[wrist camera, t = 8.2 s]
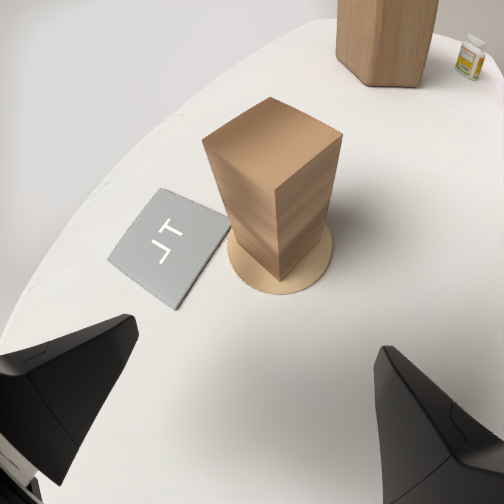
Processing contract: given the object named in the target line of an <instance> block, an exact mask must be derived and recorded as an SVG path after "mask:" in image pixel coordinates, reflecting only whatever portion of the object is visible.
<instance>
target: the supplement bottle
mask: <svg viewBox="0 0 504 504" xmlns="http://www.w3.org/2000/svg"><path fill="white" fill-rule="evenodd" d="M467 40H468V41H463V43H462V46H461V49H460V53H459V56H458V60H457V63H456V69H457V71H458V72H460V73H461V74H462V75H464V76H465V77H467V78H469V79H471V80H474V81H476V80H477V79H478V76H479V73H480V71H481V68H482V65H483V62H484V59H485V53H484V52H483V49H484V48H485V45H486V44H485V43H484V42H483V41H481V40H480V39H478V38H477V37H475V36H473V35H471V34H468V36H467Z"/></svg>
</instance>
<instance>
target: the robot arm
mask: <svg viewBox="0 0 504 504" xmlns="http://www.w3.org/2000/svg"><path fill="white" fill-rule="evenodd" d="M138 337H139V332H138V328H137V324H136V319H135V317H134V316H133V315H129V314H122V315H120V316H117V317H114V318H111V319H109V320H106V321H103V322H101V323H98V324H95V325H92V326H90V327H87V328H84V329H81V330H79V331H76V332H73V333H70V334H68V335H65V336H62V337H59V338H57V339H54V340H52V341H48V342H45V343H43V344H40V345H37V346H34V347H30V348H27V349H23V350H19V351H16V352H12V353H8V354H4V355H0V504H43V502H42V498H41V493H40V489H39V484H38V479H37V478H35V477H34V476H35V474H36V473H37V472H38V470H39V471H40V472H41V473H43V474H44V475H45V476H46V477H48V478H49V479H50V480H51V481H53V482H54V483H55V484H57V485H58V486H61V484H62V482H63V480H64V478H65V476H66V474H67V472H68V470H69V468H70V466H71V464H72V462H73V460H74V458H75V456H76V454H77V452H78V450H79V447H80V446H81V444H82V442H83V440H84V439H85V437H86V435H87V433H88V431H89V429H90V427H91V426H92V424H93V422H94V420H95V418H96V416H97V415H98V413H99V411H100V409H101V407H102V406H103V404H104V402H105V400H106V399H107V397H108V395H109V393H110V392H111V390H112V388H113V386H114V385H115V383H116V381H117V380H118V378H119V376H120V375H121V373H122V371H123V369H124V367H125V365H126V363H127V361H128V359H129V357H130V355H131V353H132V350H133V348H134V346H135V344H136V342H137V340H138ZM374 384H375V408H376V416H377V424H378V432H379V442H380V452H381V465H382V481H383V504H504V441H503V440H501V439H500V438H498V437H497V436H496V435H494V434H493V433H492V432H491V431H489V430H488V429H487V428H485V427H484V426H483V425H481V424H480V423H479V422H477V421H476V420H475V419H474V418H473V417H471V416H470V415H469V414H468V413H467V412H465V411H464V410H463V409H462V408H461V407H460V406H459V405H458V404H457V403H456V402H454V401H453V400H452V399H451V398H450V397H449V396H448V395H447V394H446V393H445V392H444V391H442V390H441V389H440V388H439V387H438V386H437V385H436V384H435V383H434V382H433V381H431V380H430V379H429V378H428V377H427V376H426V375H425V374H424V373H423V372H422V371H420V370H419V369H418V368H417V367H416V366H415V365H414V364H413V363H412V362H410V361H409V360H408V359H407V358H406V357H405V356H404V355H403V354H401V353H400V352H399V351H398V350H397V349H396V348H395V347H393V346H382V347H381V348H380V350H379V353H378V356H377V358H376V361H375V364H374Z"/></svg>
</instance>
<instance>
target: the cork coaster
mask: <svg viewBox="0 0 504 504" xmlns="http://www.w3.org/2000/svg"><path fill="white" fill-rule="evenodd" d="M227 250H228V256H229V259H230V262H231V264H232V266H233V268H234V270H235V272H236V273H237V275H238V276H239V277H240V278H241V279H242V280H243V281H244V282H245V283H246V284H248V285H249V286H251V287H253V288H254V289H257V290H259V291H262V292H265V293H269V294H281V295H282V294H290V293H295V292H298V291H300V290H303V289H305V288H307V287H309V286H310V285H312V284H313V283H314V282H315V281H316V280H318V279H319V278H320V276H321V275H322V274H323V273H324V271H325V269H326V268H327V266H328V263H329V261H330V258H331V254H332V237H331V233H330V230H329V227H328V225H327V223H326V222H325V224H324V228H323V232H322V236H321V240H320V242H319V243H318V244H317V245H316V246H315V247H314V248H313V249H312V250H311V251H310V252H309V253H308V254H307V255H306V256H305V257H304V258H303V259H302V260H301V261H300V262H299V263H298V264H297V265H296V267H295V268H294V269H293V270H292V271H291V272H290V273H289V274H288V275H287V276H286V277H285V278H284V279H282V280H281V281H280V282H279V281H278V280H277V279H276V278H275V277H274V276H272V275H271V274H270V273H269V272H268V271H267V270H266V269H265V268H264V267H263V266H262V265H260V264H259V263H258V262H257V261H256V260H255V259H254V258H253V257H252V256H251V255H249V254H248V253H247V252H246V251H245V250H244V249H243V248H242V247H241V246H240V245H239V244H238V243H237V240H236V237H235V235H234V232H233V229H232V227H231V230H230V232H229V236H228V242H227Z"/></svg>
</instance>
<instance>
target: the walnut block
mask: <svg viewBox="0 0 504 504" xmlns="http://www.w3.org/2000/svg"><path fill="white" fill-rule="evenodd" d="M342 137H343V134H342V133H341V132H339V131H337V130H335V129H334V128H332V127H330V126H328V125H326V124H325V123H323V122H321V121H319V120H317V119H315V118H313V117H311V116H309V115H307V114H305V113H303V112H301V111H299V110H297V109H295V108H293V107H291V106H289V105H287V104H285V103H283V102H280V101H278V100H276V99H274V98H271V97H269V98H267V99H266V100H264V101H262V102H260V103H259V104H257V105H255V106H254V107H252V108H250V109H249V110H247V111H245V112H244V113H242V114H240V115H239V116H237V117H236V118H234V119H233V120H231V121H229V122H228V123H226V124H225V125H223V126H222V127H220V128H219V129H217V130H216V131H214V132H213V133H211V134H210V135H208V136H207V137H205V138H204V139H202V143H203V145H204V148H205V151H206V154H207V157H208V160H209V163H210V166H211V169H212V172H213V175H214V177H215V180H216V183H217V186H218V189H219V192H220V195H221V198H222V201H223V203H224V206H225V209H226V212H227V215H228V218H229V220H230V223H231V226H232V229H233V232H234V235H235V237H236V240H237V243H238V244H239V245H240V246H241V247H242V248H243V249H244V250H245V251H246V252H247V253H248V254H249V255H251V256H252V257H253V258H254V259H255V260H256V261H257V262H258V263H259V264H260V265H262V266H263V267H264V268H265V269H266V270H267V271H268V272H269V273H270V274H271V275H272V276H274V277H275V278H276V279H277V280H278V281H279V282H280V281H281V280H282V279H284V278H285V277H286V276H287V275H288V274H289V273H290V272H291V271H292V270H293V269H294V268H295V267H296V265H297V264H298V263H299V262H300V261H301V260H302V259H303V258H304V257H305V256H306V255H307V254H308V253H309V252H310V251H311V250H312V249H313V248H314V247H315V246H316V245H317V244H318V243H319V242H320V240H321V236H322V232H323V228H324V224H325V219H326V215H327V211H328V206H329V202H330V197H331V193H332V188H333V183H334V179H335V174H336V169H337V164H338V159H339V153H340V148H341V143H342Z"/></svg>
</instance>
